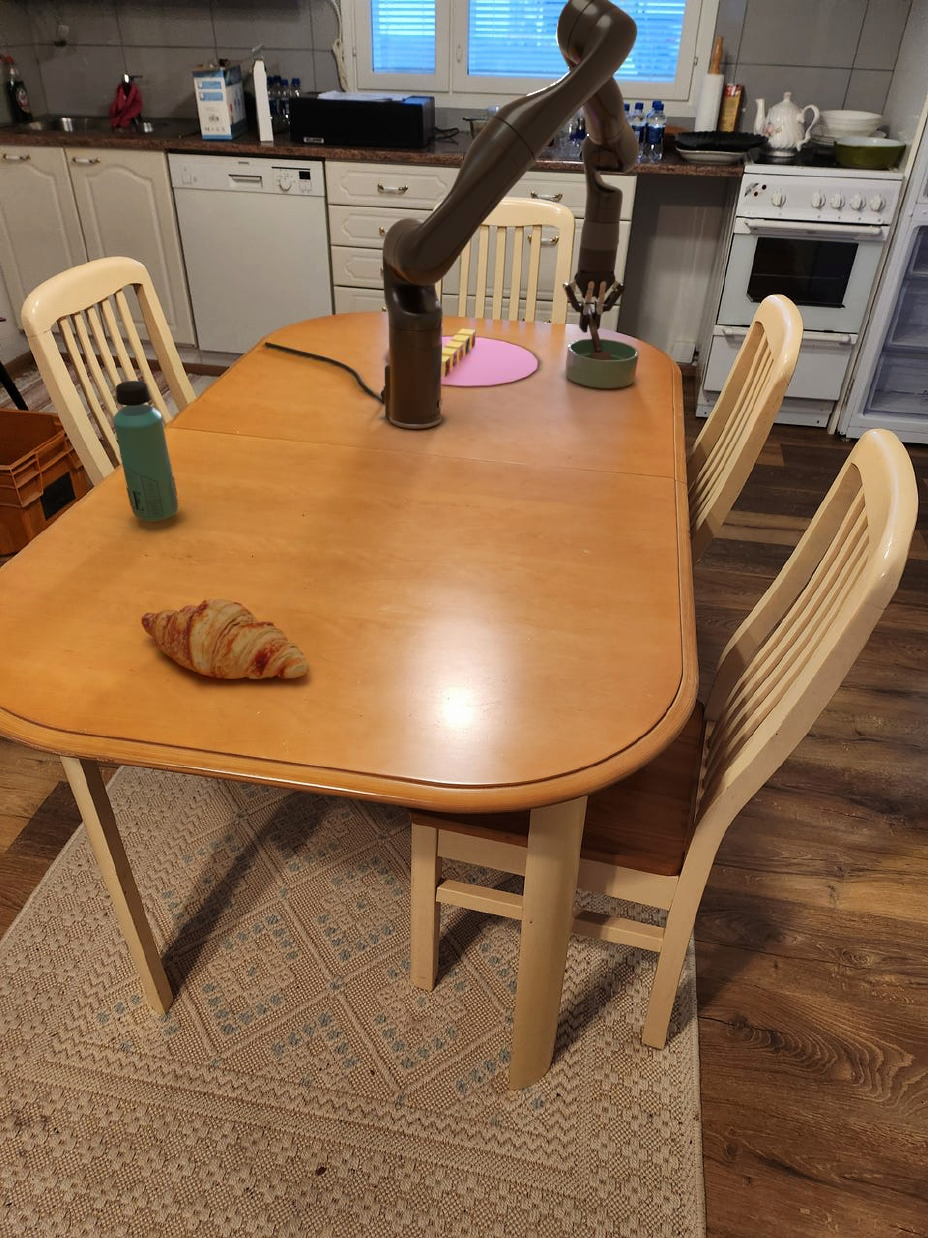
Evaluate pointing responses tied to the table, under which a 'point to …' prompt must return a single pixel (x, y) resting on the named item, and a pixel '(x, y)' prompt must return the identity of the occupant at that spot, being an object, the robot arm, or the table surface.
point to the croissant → (224, 641)
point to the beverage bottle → (144, 454)
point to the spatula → (596, 339)
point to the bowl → (601, 364)
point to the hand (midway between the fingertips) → (588, 331)
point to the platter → (483, 361)
